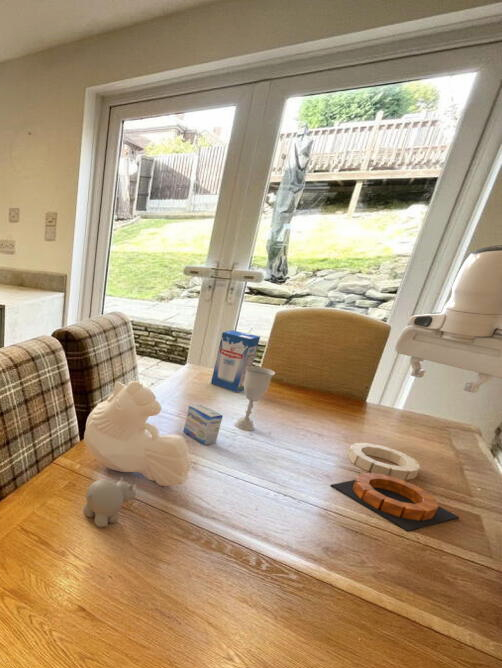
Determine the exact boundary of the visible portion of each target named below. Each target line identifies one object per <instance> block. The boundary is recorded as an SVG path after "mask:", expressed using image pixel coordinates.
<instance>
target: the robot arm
mask: <svg viewBox="0 0 502 668" xmlns="http://www.w3.org/2000/svg"><path fill="white" fill-rule="evenodd" d="M408 324H409V325H407V326H405V327H404V328H403V329H402V331H401V332H400V334H399V336H398V338H397V340H396V342H395V345H394V351H395V352H396V353H397V354H399V355H403V356H408V357H410V359H409V362H410V365H411V368H412V370H411V373H410V376H412V377H415V378H423V377H424V376H425V373H426V369H423V368H422V364H421V363H422V362H424V361H429V362H433V363H437V364H441V365H444V366H450V367H452V368H453V367H454V368H458V369H461V370H466V371H469V372H474V373H478V374H477V376H476V378H478V379H477V380H476V381H474V382H473V381H470V382H466V384H465V387H464V388H463V391H465V392H469V393H472V394H475V393H477V392H478V391H479V390H480V388H481V386H482V385H484V384H485V383H487V382H490V381H491V380H492V379H493V378H498V379H502V329H501V327H502V244H499V245H490V246H486V247H482V248H480V249H479V248H478V249H477V250H474V251H473V252H471V253H470V254H469V256H468V257H466V259H465V260H464V262H463V264H462V265H461V268H460V269H459V271H458V274H457V275H456V278H455V279H454V282H453V283H452V287H451V296H450V298H449V300H448V301H447V302H446V304H445V305H444V306H443V308H442V311H440V312H431V313H424V314H423V313H422V314H415V315H412V316H410V317H409V319H408Z"/></svg>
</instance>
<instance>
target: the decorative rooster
mask: <svg viewBox="0 0 502 668" xmlns="http://www.w3.org/2000/svg"><path fill="white" fill-rule="evenodd" d="M156 398H157V396H156V395H155V393H154V392H153V391H152V390H151V389H150V388H149V387H147V386H144V384H142V383H141V382H139V381H137V380H132V381H130V382H128V384H124V383H122V382H120V381H116V382H115V383H114V386H113V392H112V394H111V395H110V396H108V398H107V400H104V401H102V402H98V403H97V405H96V406H95V407H94V408H93V409H92V411H90V413H89V414H88V416H87V419H86V423H85V431H84V434H83V441H84V445H85V447H86V449H87V450H88V452H89V453H90V455H91V456H92V457H93V458H94V460H95V461H96V462H98V463H99V464H100V465H102V466H103V467H104V468H105V467H106V468H107V469H110V470H112V471H116V472H123V473H140V474H141V475H142V476H143V477H145V478H146V479H147V480H149V481H151V482H153V481H155V483H156V484H158V485H159V486H162V487H165V486H166V487H167V486H168V487H169V486H177V485H182V484H184V483H186V482H187V479H188V478H189V475H188V474H189V472H190V471H191V467H192V460H191V457H190V455H189V451H190V449H189V448H190V447H189V445H188V444H187V440H186V439H185V438H184V437H183V436H182V435H180V434H167V435H166V434H165V435H160V431H159V429H158V427H157V426H156V425H155V424H153V423H151V422H147V421H148V419H149V417H154V416H158V415H159V414H160V413H161V412H162V405H161V404H160V402H159V401H158V400H157V399H156Z"/></svg>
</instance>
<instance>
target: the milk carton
mask: <svg viewBox="0 0 502 668" xmlns="http://www.w3.org/2000/svg"><path fill="white" fill-rule="evenodd" d="M260 339H261V336H260V335H255V334H251V333H248V332H247V333H246V332H242V331H237V330H233V329H232V330H228V331H223V332H222V333H221V338H220V342H219V345H218V350H217V354H216V359H215V362H214V366H213V367H214V368H213V372H212V377H211V380H210V384H211V383H213V384H212V385H214V384H215V385H214V386H217V385H218V386H217V387H219V388H222V387H223V389H225V388H226V390H228V389H229V391H231V390H232V391H231V392H234V391H235V392H234V393H239V392H241V390H242V391H244V380H245V376H246V372H247V371H246V367H247V366H254V362H255V357H256V353H257V350H258V346H259V342H260ZM238 391H239V392H238Z"/></svg>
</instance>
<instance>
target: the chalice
mask: <svg viewBox="0 0 502 668" xmlns="http://www.w3.org/2000/svg"><path fill="white" fill-rule="evenodd" d="M246 371H247V372H246V376H245V380H244V390H243V391H244V394H245V397H246V399H247V400H249V401H248V404H246V406H247V408H246V410H245V416H243V417H240V418H239V419H238V420H237V421H236V422H234V426H235V425H236V426H237V428H238V429H240V428H241V430H242V431H249V432H250V431H254V430H255V425H254V421H253V420H252V419H251V418H250V416H251V414H253V412H252V409H253V408H254V402H257V401H259V400H260V399H261V398H262V397H263V396H264V395H265V394H266V393H267V392H268V390H269V388H270V384H271V381H272V378H273V377H274V375H275V374H276V372H275V371H274V370H272V369H270V368H266V367H263V366H256V365H252V366H247V367H246ZM236 426H235V427H236Z"/></svg>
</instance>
